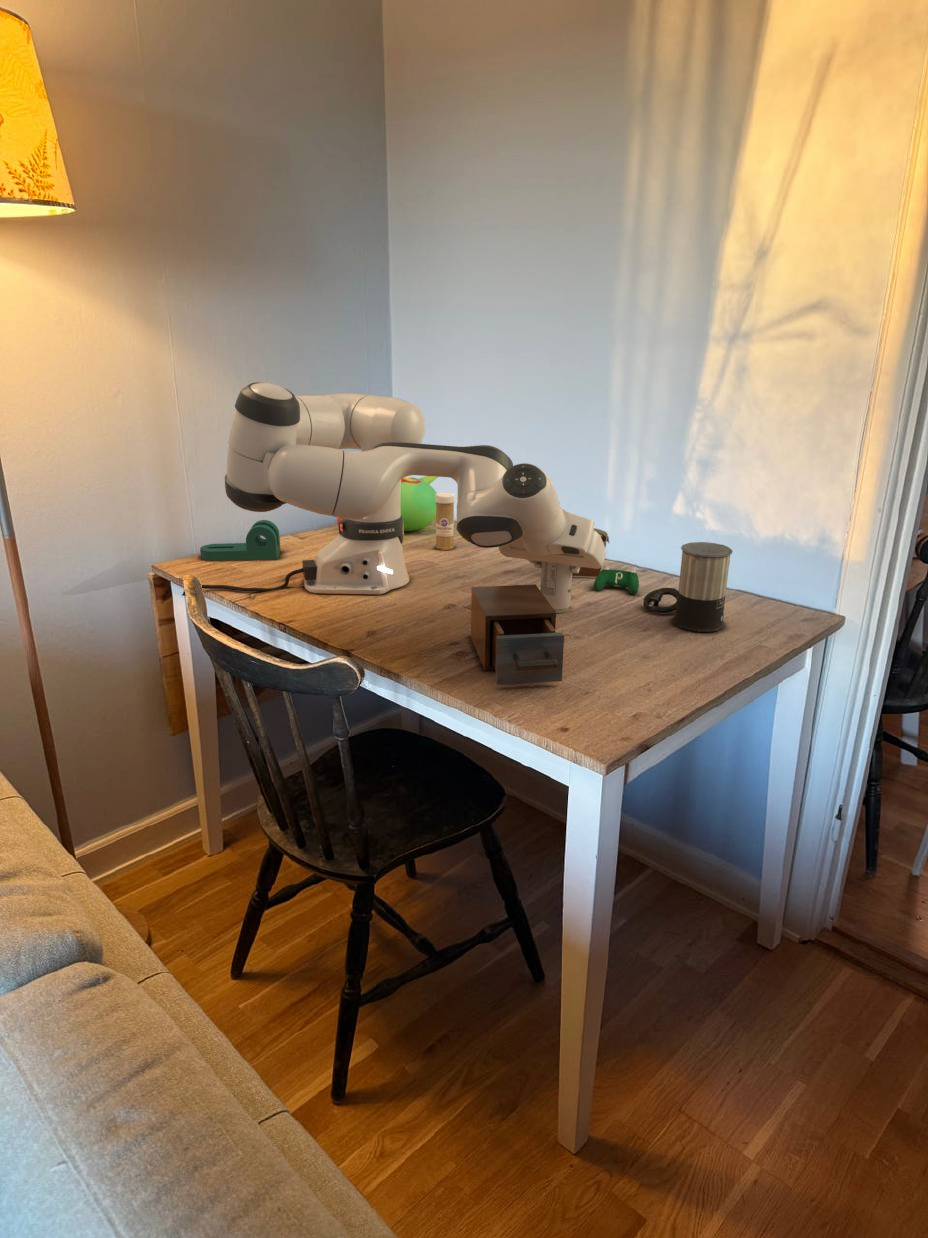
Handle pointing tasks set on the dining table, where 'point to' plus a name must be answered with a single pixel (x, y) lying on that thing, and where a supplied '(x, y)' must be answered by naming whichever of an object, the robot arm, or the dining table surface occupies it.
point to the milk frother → (697, 588)
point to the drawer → (526, 651)
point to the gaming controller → (617, 579)
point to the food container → (592, 571)
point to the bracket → (247, 545)
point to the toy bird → (417, 502)
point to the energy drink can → (556, 585)
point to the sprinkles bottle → (444, 521)
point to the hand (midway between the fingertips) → (558, 567)
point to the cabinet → (504, 612)
